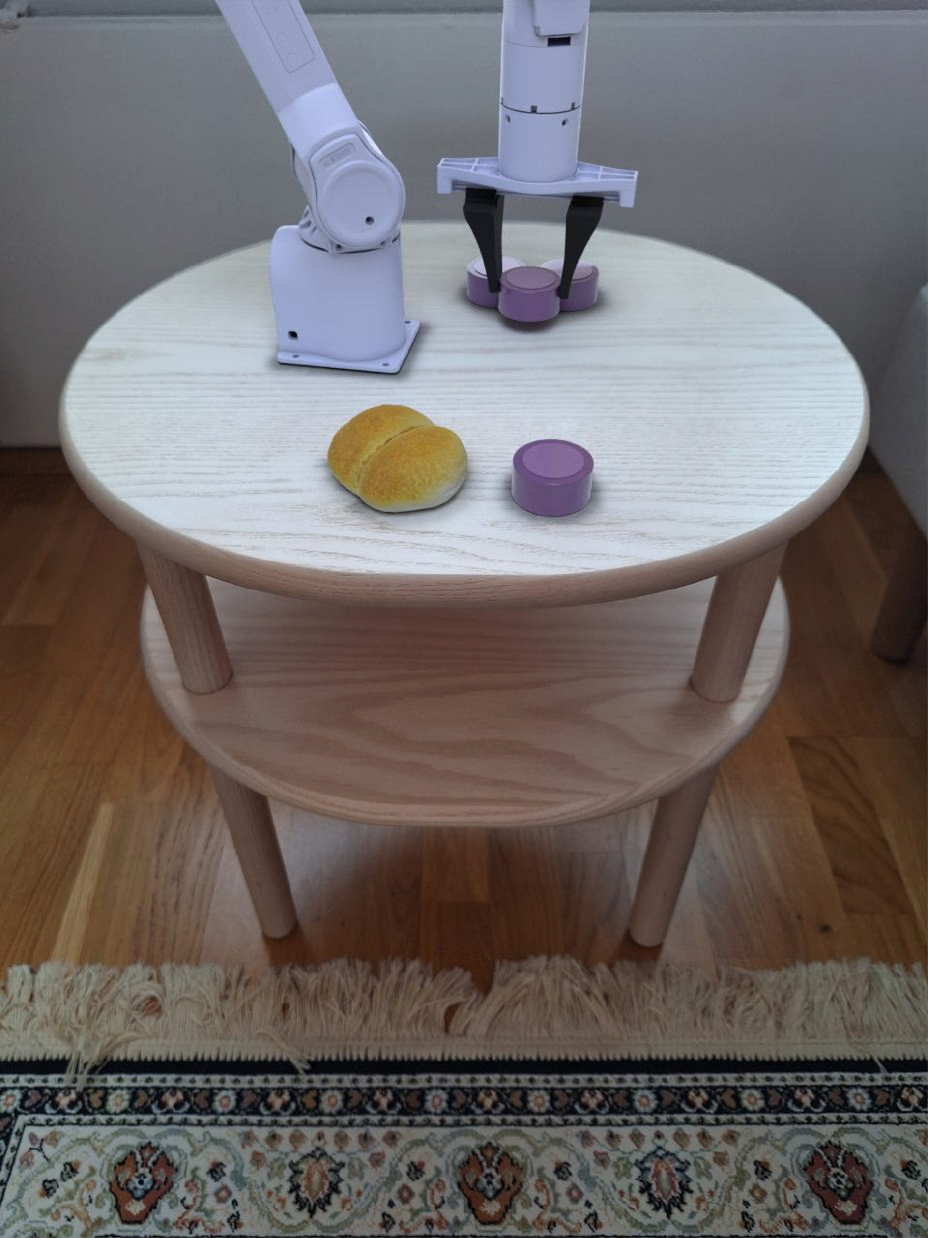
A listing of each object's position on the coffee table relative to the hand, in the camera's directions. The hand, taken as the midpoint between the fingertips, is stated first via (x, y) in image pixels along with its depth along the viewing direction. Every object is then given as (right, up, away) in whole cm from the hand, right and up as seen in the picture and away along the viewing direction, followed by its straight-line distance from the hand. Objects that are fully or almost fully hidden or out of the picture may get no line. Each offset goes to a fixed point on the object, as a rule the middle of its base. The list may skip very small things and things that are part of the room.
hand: (530, 290), depth 75 cm
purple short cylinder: (-2, +2, +6) cm, 6 cm away
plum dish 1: (0, -1, +1) cm, 1 cm away
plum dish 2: (+4, +1, +5) cm, 6 cm away
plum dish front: (0, -18, -15) cm, 24 cm away
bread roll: (-9, -17, -14) cm, 24 cm away
